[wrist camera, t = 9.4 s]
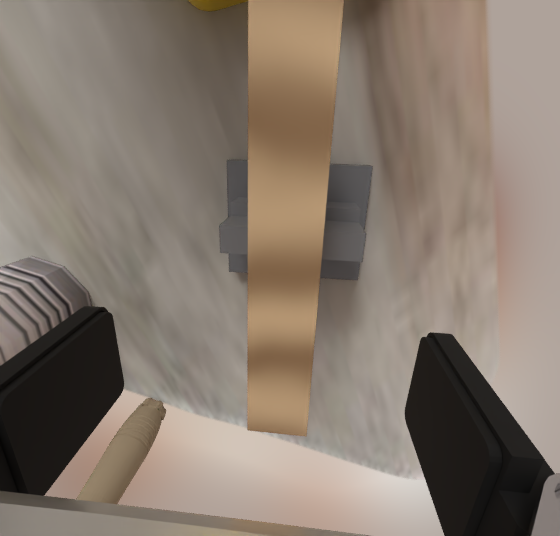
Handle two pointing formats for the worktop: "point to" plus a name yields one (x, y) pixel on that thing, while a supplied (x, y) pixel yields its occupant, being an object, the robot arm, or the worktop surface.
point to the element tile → (214, 4)
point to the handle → (124, 454)
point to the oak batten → (287, 199)
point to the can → (35, 302)
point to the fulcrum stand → (337, 230)
